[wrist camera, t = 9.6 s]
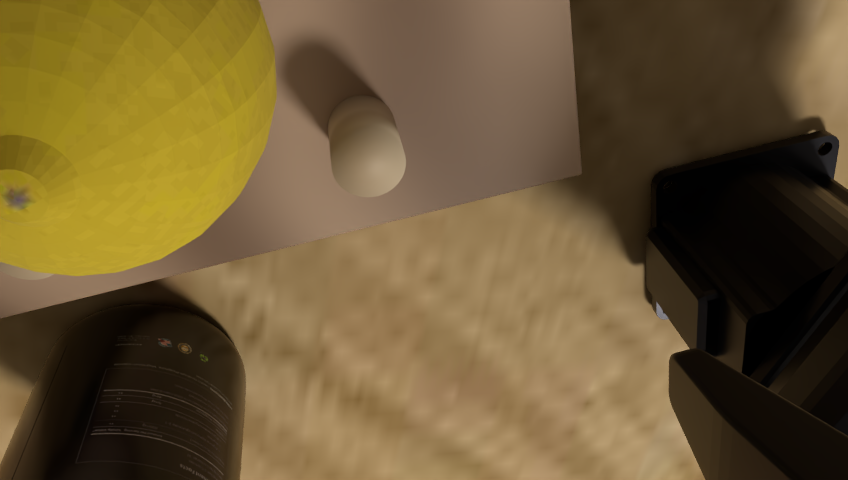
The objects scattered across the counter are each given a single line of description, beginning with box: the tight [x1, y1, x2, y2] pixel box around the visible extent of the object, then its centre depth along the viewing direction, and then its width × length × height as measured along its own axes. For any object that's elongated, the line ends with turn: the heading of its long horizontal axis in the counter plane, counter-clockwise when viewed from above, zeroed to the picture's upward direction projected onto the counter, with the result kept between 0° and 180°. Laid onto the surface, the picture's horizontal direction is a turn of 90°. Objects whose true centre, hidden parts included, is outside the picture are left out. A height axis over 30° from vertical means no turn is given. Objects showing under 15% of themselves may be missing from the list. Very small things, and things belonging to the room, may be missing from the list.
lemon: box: [0, 0, 277, 276], centre depth 11 cm, size 6×6×8 cm
